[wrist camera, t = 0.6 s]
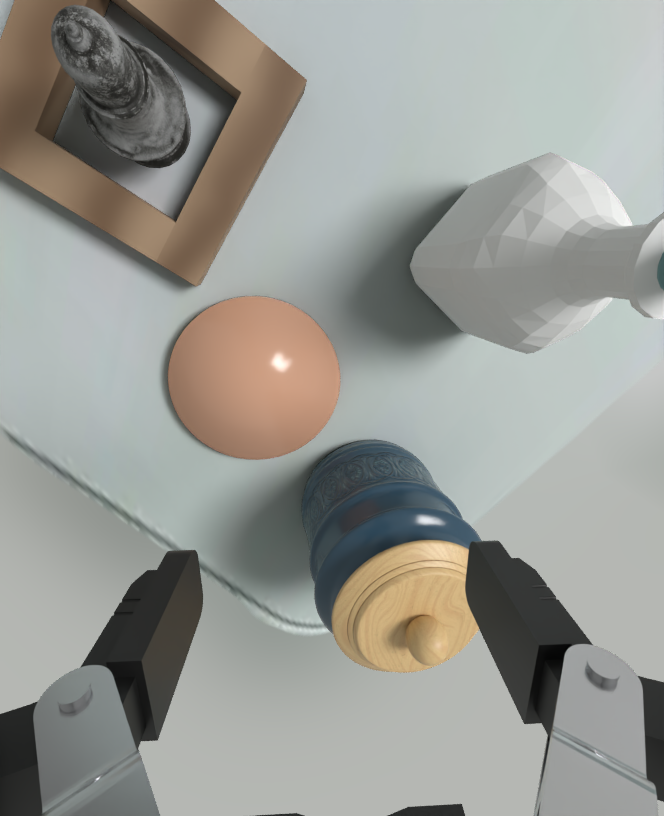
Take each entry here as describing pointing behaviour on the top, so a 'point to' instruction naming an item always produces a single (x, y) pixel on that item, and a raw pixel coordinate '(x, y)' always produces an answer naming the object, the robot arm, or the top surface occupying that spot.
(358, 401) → the top surface
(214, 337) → the saucer
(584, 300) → the soap bottle
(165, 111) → the salt shaker
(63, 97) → the wooden square frame
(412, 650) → the canister
